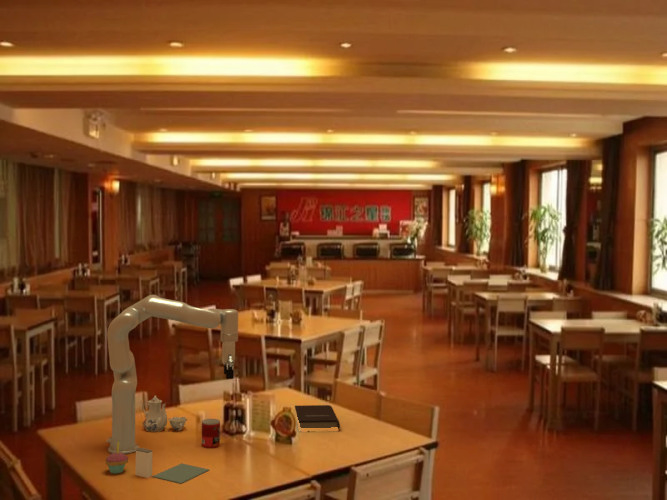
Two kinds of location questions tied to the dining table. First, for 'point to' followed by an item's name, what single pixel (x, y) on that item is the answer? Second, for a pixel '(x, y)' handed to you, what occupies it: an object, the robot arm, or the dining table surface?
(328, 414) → the book
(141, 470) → the slab
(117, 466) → the cupcake
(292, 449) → the dining table surface
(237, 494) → the dining table surface
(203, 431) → the canned food
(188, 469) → the mat
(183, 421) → the chinaware
